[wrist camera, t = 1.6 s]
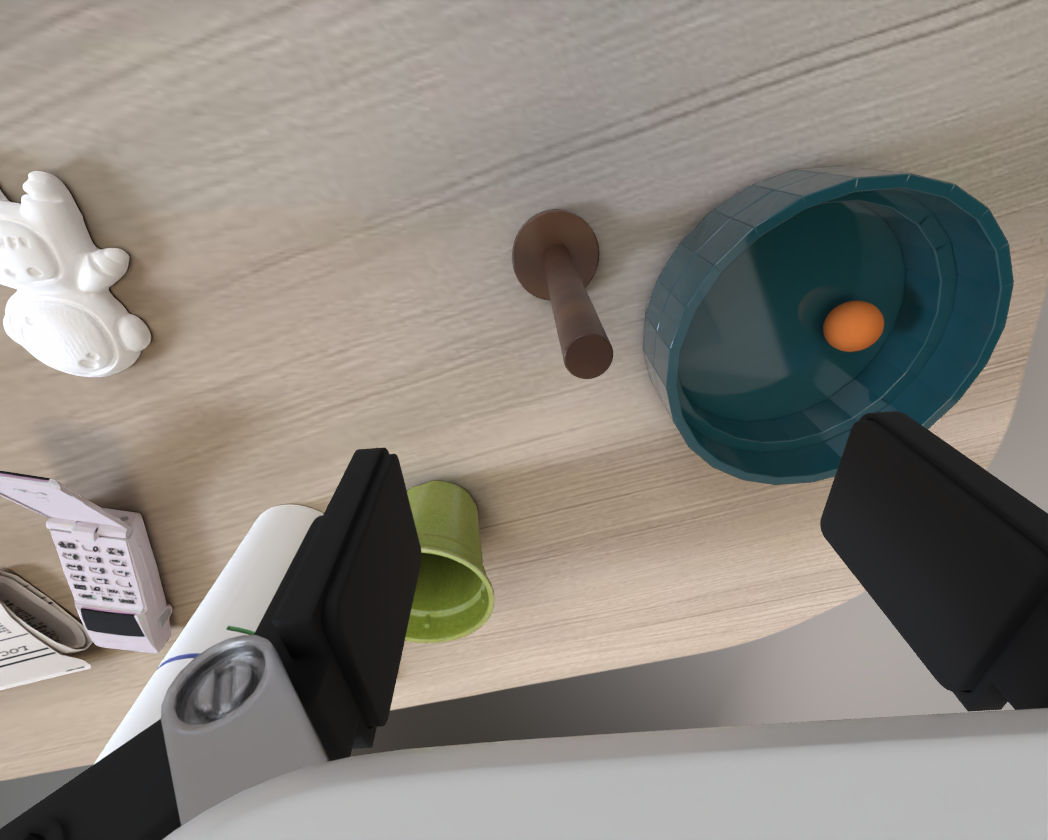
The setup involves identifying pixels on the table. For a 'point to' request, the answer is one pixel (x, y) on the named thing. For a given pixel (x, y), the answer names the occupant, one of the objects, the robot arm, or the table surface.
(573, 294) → the stirring stick
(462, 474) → the table surface
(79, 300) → the white toy figurine
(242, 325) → the table surface
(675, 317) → the bowl
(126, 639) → the mobile phone
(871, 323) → the ball
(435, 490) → the plant pot
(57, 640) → the newspaper
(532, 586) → the table surface
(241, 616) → the cylindrical container
